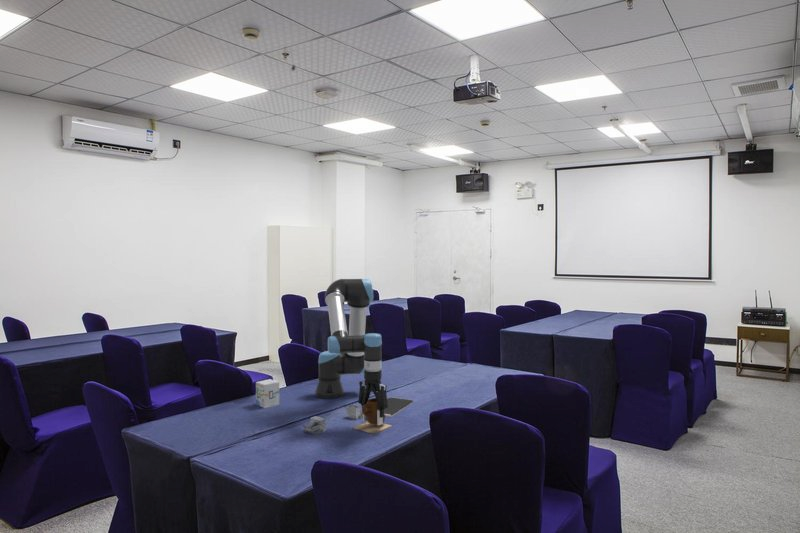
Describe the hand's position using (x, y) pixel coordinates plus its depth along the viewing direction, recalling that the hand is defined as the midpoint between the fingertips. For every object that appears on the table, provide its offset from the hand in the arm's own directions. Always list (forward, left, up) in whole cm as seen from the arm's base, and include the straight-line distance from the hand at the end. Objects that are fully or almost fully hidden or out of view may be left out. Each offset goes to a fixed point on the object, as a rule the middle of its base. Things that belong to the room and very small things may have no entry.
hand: (372, 422), depth 217 cm
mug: (0, 0, 0) cm, 0 cm away
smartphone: (-12, +27, -3) cm, 30 cm away
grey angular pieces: (-16, -6, -2) cm, 17 cm away
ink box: (-63, -7, -2) cm, 63 cm away
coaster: (0, 0, -2) cm, 2 cm away
